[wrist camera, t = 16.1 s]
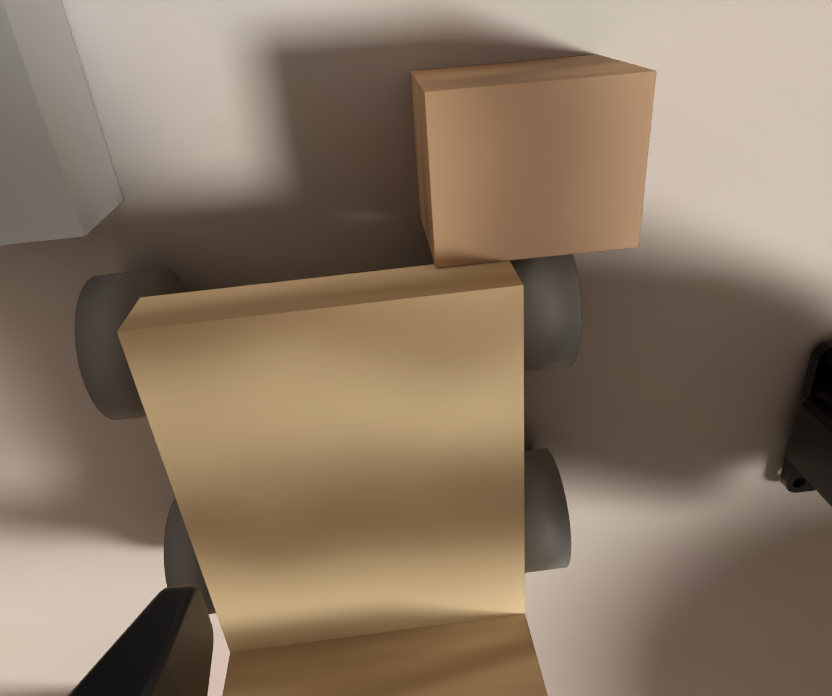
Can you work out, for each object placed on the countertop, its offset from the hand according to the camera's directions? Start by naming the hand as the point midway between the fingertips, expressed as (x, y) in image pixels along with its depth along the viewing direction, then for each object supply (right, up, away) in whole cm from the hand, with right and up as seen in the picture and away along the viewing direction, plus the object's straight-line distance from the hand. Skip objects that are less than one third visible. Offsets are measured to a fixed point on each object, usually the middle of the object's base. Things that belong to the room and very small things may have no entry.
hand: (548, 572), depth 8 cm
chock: (+1, +9, +10) cm, 13 cm away
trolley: (-4, +1, +13) cm, 14 cm away
